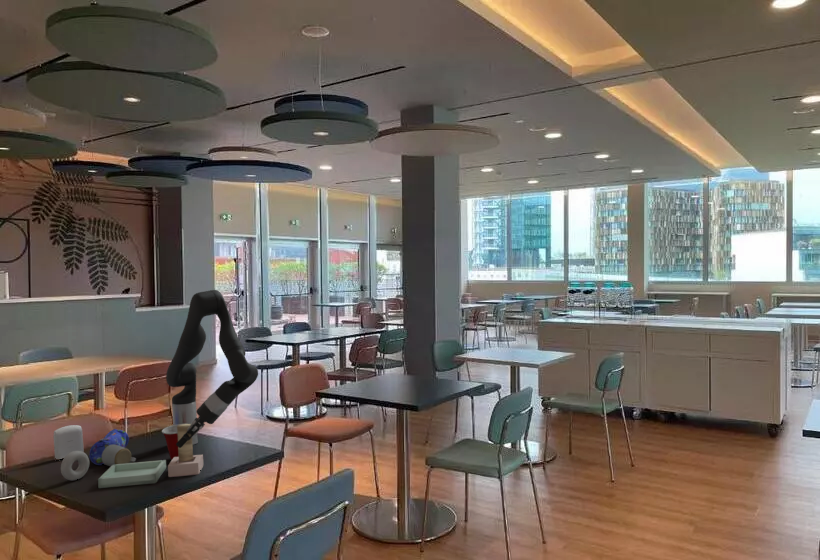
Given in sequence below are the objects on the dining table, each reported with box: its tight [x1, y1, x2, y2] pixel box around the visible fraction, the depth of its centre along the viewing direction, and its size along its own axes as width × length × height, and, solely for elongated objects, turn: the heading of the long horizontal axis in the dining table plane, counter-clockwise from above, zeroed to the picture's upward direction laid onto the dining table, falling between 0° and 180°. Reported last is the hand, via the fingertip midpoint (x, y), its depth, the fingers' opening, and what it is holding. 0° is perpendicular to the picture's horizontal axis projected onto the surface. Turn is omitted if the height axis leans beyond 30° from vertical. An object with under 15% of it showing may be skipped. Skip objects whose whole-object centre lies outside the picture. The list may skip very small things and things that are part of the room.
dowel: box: [177, 424, 194, 461], centre depth 216 cm, size 5×5×12 cm
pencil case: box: [88, 428, 130, 466], centre depth 237 cm, size 22×9×10 cm, turn 9°
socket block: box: [167, 454, 204, 478], centre depth 216 cm, size 10×10×4 cm
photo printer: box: [53, 424, 85, 459], centre depth 240 cm, size 10×4×12 cm, turn 137°
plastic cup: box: [161, 424, 182, 461], centre depth 232 cm, size 11×11×12 cm
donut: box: [60, 451, 90, 481], centre depth 212 cm, size 10×4×10 cm, turn 154°
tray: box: [97, 459, 167, 489], centre depth 211 cm, size 16×18×3 cm
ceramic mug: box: [102, 444, 137, 467], centre depth 227 cm, size 11×8×8 cm
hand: (179, 443), depth 216 cm, fingers closed on dowel, 4 cm apart
